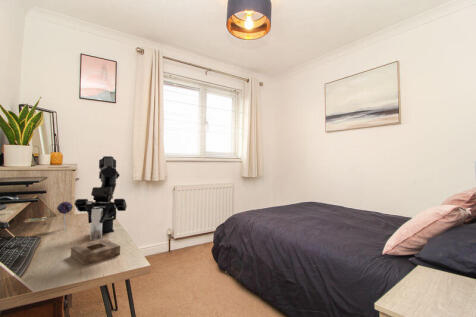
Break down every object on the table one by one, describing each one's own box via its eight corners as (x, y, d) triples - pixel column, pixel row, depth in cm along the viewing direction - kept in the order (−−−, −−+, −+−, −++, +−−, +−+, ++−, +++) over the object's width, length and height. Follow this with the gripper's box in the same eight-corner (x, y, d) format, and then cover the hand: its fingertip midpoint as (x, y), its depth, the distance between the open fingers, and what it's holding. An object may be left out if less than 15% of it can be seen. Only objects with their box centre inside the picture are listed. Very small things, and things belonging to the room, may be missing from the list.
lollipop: (54, 231, 122) (56, 203, 123) (57, 227, 129) (59, 201, 129) (70, 229, 126) (71, 202, 126) (72, 226, 132) (73, 200, 132)
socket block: (105, 247, 101) (105, 239, 102) (120, 254, 94) (120, 245, 94) (70, 256, 91) (71, 247, 91) (84, 265, 83) (84, 255, 83)
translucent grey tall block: (99, 235, 95) (100, 207, 96) (103, 238, 93) (104, 208, 93) (88, 238, 92) (89, 208, 92) (92, 240, 90) (93, 209, 90)
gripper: (77, 179, 95) (61, 211, 84) (125, 180, 99) (116, 211, 88) (85, 195, 103) (71, 227, 92) (130, 195, 106) (121, 226, 95)
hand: (95, 222), depth 91 cm, fingers closed on translucent grey tall block, 4 cm apart
